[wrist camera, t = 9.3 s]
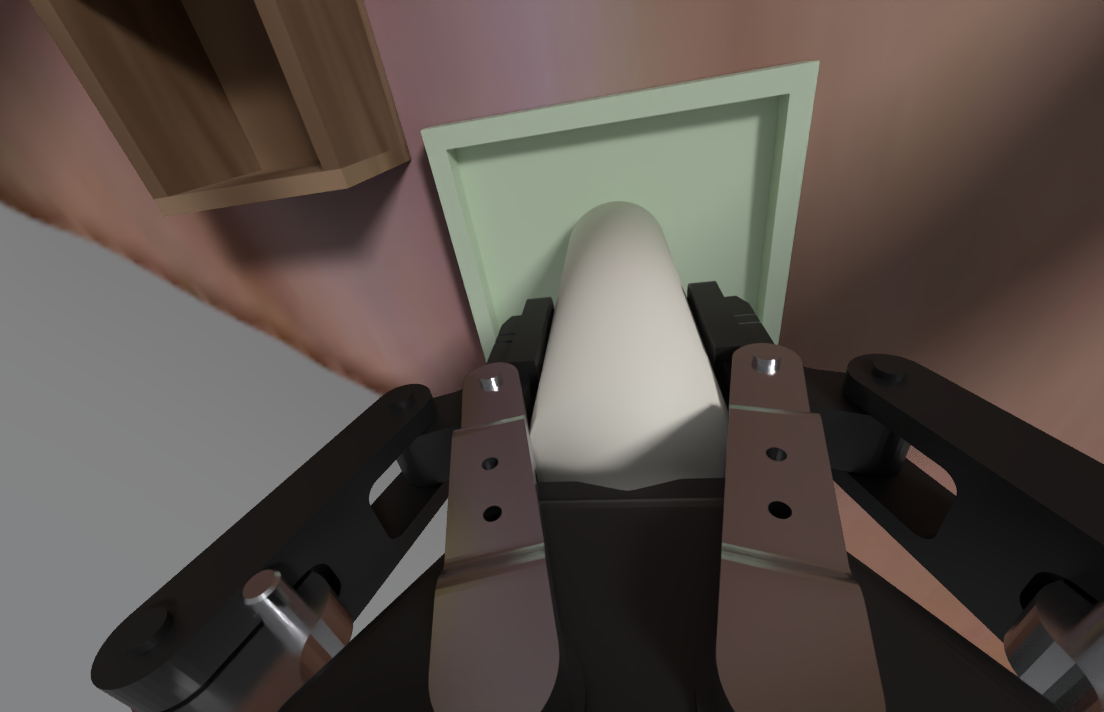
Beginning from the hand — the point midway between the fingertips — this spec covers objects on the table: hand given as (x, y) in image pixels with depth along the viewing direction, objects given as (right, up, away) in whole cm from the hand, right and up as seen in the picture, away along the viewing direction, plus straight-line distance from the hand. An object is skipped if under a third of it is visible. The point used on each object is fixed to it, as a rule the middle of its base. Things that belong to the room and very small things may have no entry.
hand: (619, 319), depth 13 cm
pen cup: (-12, +10, +4) cm, 16 cm away
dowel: (+1, +3, +5) cm, 6 cm away
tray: (+1, +4, +7) cm, 8 cm away
